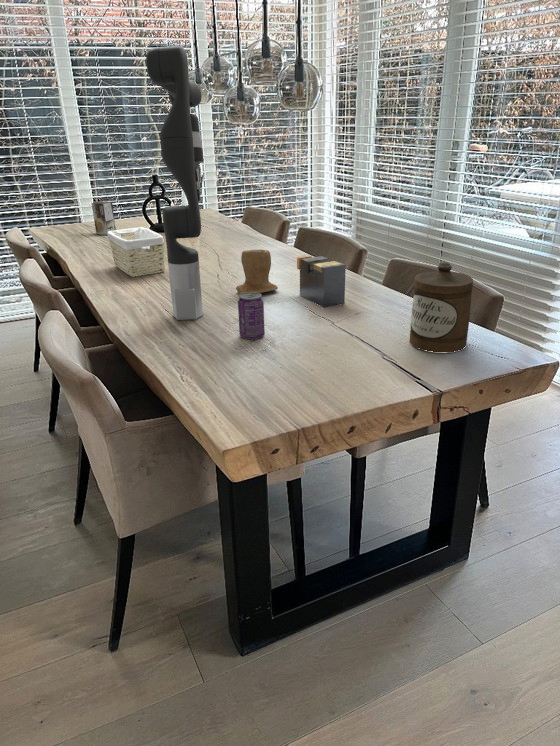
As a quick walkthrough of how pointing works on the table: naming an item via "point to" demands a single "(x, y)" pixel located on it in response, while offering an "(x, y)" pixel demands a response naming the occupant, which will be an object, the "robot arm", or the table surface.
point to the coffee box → (103, 217)
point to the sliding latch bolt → (300, 262)
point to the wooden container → (441, 310)
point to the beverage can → (251, 315)
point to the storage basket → (137, 251)
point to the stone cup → (256, 272)
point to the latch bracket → (323, 281)
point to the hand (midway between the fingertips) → (197, 201)
